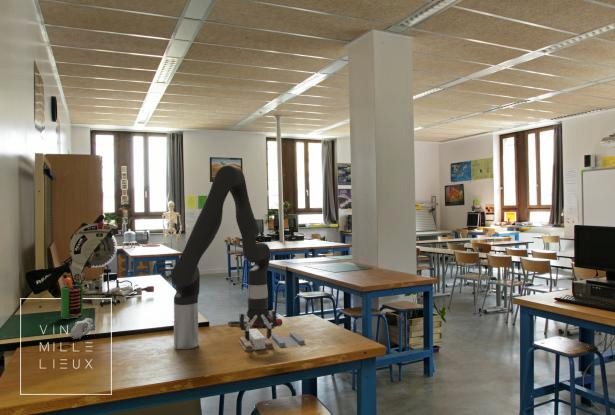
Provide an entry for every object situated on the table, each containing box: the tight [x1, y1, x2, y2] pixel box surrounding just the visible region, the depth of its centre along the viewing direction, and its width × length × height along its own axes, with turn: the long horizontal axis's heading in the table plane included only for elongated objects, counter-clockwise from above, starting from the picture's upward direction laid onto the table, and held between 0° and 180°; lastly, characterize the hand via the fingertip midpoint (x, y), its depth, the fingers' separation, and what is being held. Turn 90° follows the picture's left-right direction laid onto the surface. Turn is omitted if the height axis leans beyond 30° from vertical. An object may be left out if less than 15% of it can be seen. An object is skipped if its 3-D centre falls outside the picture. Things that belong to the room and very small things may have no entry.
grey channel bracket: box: [270, 331, 306, 348], centre depth 179 cm, size 12×11×3 cm
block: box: [249, 327, 266, 351], centre depth 174 cm, size 14×4×4 cm, turn 19°
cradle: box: [238, 334, 274, 353], centre depth 175 cm, size 13×11×3 cm
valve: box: [227, 315, 283, 330], centre depth 209 cm, size 6×26×15 cm
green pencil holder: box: [60, 277, 84, 318], centre depth 227 cm, size 10×9×20 cm
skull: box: [69, 317, 94, 340], centre depth 194 cm, size 8×9×12 cm
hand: (258, 339), depth 171 cm, fingers open, 7 cm apart
